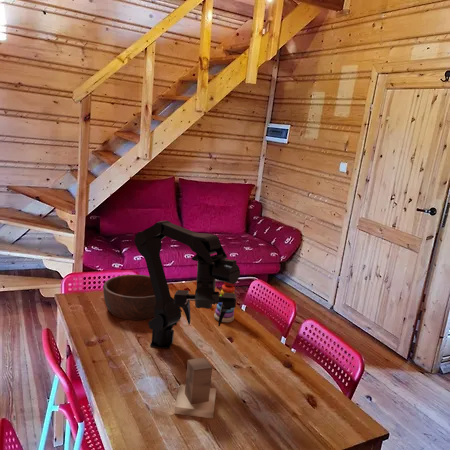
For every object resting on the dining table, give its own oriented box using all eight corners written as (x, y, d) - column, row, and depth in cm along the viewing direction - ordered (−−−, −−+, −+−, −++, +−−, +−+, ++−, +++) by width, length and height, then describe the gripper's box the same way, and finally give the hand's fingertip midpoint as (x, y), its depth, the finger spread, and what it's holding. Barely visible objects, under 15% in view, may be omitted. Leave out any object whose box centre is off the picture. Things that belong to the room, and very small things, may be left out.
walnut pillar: (184, 393, 115) (187, 359, 113) (201, 390, 117) (205, 357, 115) (190, 404, 111) (194, 369, 109) (208, 401, 113) (212, 367, 111)
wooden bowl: (136, 330, 151) (138, 303, 149) (88, 309, 164) (89, 284, 162) (179, 309, 172) (182, 285, 170) (134, 292, 185) (135, 269, 183)
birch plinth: (174, 413, 110) (174, 406, 109) (179, 390, 120) (180, 384, 119) (212, 418, 110) (213, 411, 109) (215, 395, 119) (216, 388, 119)
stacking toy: (219, 324, 163) (224, 278, 159) (210, 315, 170) (215, 270, 166) (237, 322, 167) (243, 276, 163) (228, 313, 174) (233, 269, 170)
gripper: (171, 282, 122) (169, 334, 125) (236, 286, 121) (233, 338, 124) (177, 271, 133) (175, 319, 136) (237, 275, 132) (234, 322, 135)
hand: (204, 325), depth 132 cm, fingers open, 9 cm apart
